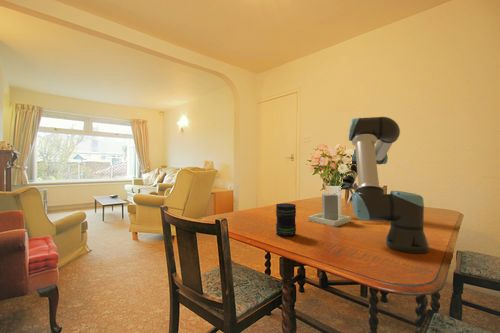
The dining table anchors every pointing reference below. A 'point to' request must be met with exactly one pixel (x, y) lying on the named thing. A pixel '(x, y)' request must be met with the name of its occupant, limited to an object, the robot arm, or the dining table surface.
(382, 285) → the dining table surface
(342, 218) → the sage tray
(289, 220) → the storage jar
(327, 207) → the skincare box
